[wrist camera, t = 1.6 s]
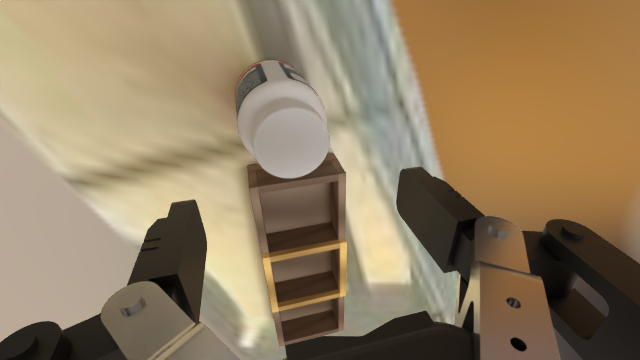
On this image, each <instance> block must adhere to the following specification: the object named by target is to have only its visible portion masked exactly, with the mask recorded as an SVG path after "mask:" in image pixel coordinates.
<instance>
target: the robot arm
mask: <svg viewBox="0 0 640 360" xmlns="http://www.w3.org/2000/svg"><path fill="white" fill-rule="evenodd" d="M396 204H397V210H398V212H399V214H400V216H401V217H402V219H403V220H404V221H405V223H406V224H407V225H408V226H409V228H410V229H411V230H412V232H413V233H414V234H415V236H416V237H417V238H418V240H419V241H420V242H421V244H422V245H423V246H424V247H425V249H426V250H427V251H428V253H429V254H430V255H431V257H432V258H433V259H434V261H435V262H436V263H437V264H438V266H439V267H440V268H441V270H442V271H443V272H444V273H447V272H452V271H456V270H457V271H458V272H459V274H460V275H459V278H458V284H457V299H456V314H455V325H451V324H447V323H441V322H433V321H432V319H431V317H430V316H429V314H428V313H427V311H423V312H419V313H415V314H410V315H406V316H402V317H398V318H394V319H392V320H391V321H389V322H387V323H385V324H384V325H382V326H380V327H378V328H377V329H375V330H373V331H371V332H370V333H368V334H366V335H364V336H359V337H355V336H321V337H317V338H313V339H309V340H305V341H301V342H297V343H293V344H289V345H285V348H286V355H287V358H285V359H283V360H560V356H559V352H558V347H557V342H556V338H555V333H554V329H553V327H554V328H555V329H556V330H557V331H558V332H559V334H560V335H561V336H562V337H563V338H564V339H565V340H566V341H567V342H568V344H569V345H570V346H571V347H572V348H573V349H574V350H575V351H576V352H577V354H578V355H579V356H580V357H581V358H582V359H583V360H640V264H639V263H638V262H636V261H635V260H633V259H632V258H630V257H629V256H627V255H626V254H625V253H623V252H622V251H620V250H619V249H618V248H616V247H615V246H613V245H612V244H610V243H609V242H608V241H606V240H605V239H603V238H601V237H600V236H599V235H597V234H596V233H595V232H593V231H592V230H590V229H589V228H587V227H585V226H583V225H581V224H578V223H576V222H572V221H569V220H562V219H554V220H550V221H548V222H547V224H546V226H545V228H544V230H543V232H534V231H521V230H520V228H519V227H518V226H516V225H515V224H514V223H512V222H510V221H508V220H506V219H503V218H500V217H494V216H484V215H483V214H482V213H481V212H480V211H479V210H478V209H476V208H475V207H474V206H473V205H472V204H471V203H469V202H468V201H467V200H466V199H465V198H464V197H461V195H460V194H459V193H458V192H457V191H455V190H454V189H453V188H452V187H451V186H450V185H449V184H448V183H447V182H445V181H443V180H441V179H439V178H436V177H432V176H431V175H430V174H429V173H428V172H427V171H426V170H424V169H423V168H422V167H414V168H407V169H402V170H401V172H400V176H399V184H398V192H397V200H396ZM140 250H141V252H139V255H138V257H137V260H136V263H135V265H134V268H133V271H132V273H131V276H130V279H129V281H128V284H127V286H126V287H124V288H122V289H120V290H119V291H118V292H116V293H115V294H114V295H112V296H111V297H110V298H109V299H108V301H107V302H106V303H105V305H104V306H103V308H102V311H101V313H100V314H98V315H96V316H94V317H92V318H90V319H88V320H85V321H83V322H81V323H78V324H76V325H74V326H71V327H69V328H67V329H65V330H62V329H61V328H60V327H59V325H58V324H56V323H54V322H49V321H46V322H38V323H34V324H31V325H29V326H26V327H24V328H22V329H20V330H18V331H16V332H14V333H13V334H11V335H10V336H8V337H7V338H5V339H4V340H3V341H2V342H0V360H240V359H239V358H238V357H237V356H236V355H235V354H234V353H233V352H232V351H231V350H230V349H229V348H228V347H227V346H226V345H225V344H224V343H223V342H222V341H221V340H220V339H219V338H218V337H217V336H216V335H215V334H214V333H213V332H212V331H211V330H210V329H209V328H208V327H207V326H206V325H205V324H204V323H202V322H199V316H200V307H201V298H202V288H203V279H204V270H205V261H206V252H207V240H206V234H205V230H204V227H203V223H202V220H201V216H200V213H199V209H198V206H197V203H196V201H195V200H188V201H181V202H174V203H172V204H171V207H170V210H169V213H168V217H167V218H161V219H157V221H156V222H155V223H154V224H153V225H152V226H151V227H150V228H149V229H148V231H147V233H146V236H145V239H144V243H143V244H142V247H141V249H140ZM580 277H581V278H582V279H583V280H584V281H585V282H586V283H588V284H589V285H590V286H591V287H592V288H593V289H595V290H596V291H597V292H598V293H599V294H600V295H601V296H602V297H603V298H604V299H605V300H606V302H607V304H608V306H609V314H608V316H607V317H605V316H604V315H603V314H602V313H601V312H599V311H598V310H597V309H596V308H595V307H594V306H593V305H592V304H591V303H590V302H589V301H587V299H585V298H584V297H583V296H582V295H581V294H580V293H579V292H578V291H577V290H576V289H575V288H574V286H575V284H576V283H577V281H578V279H579V278H580Z"/></svg>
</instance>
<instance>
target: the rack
mask: <svg viewBox="0 0 640 360" xmlns="http://www.w3.org/2000/svg"><path fill="white" fill-rule="evenodd" d="M247 167H248V179H249V189H250V195H251V200H252V205H253V210H254V216H255V221H256V226H257V232H258V237H259V242H260V247H261V253H262V260H263V265H264V270H265V275H266V281H267V286H268V291H269V296H270V302H271V307H272V312H273V316H274V321H275V327H276V332H277V337H278V342H279V347H280V346H284V345H288V344H292V343H296V342H300V341H304V340H307V339H311V338H315V337H319V336H323V335H327V334H331V333H335V332H339V331H343V330H344V296H346V278H347V241H346V239H345V203H346V172H345V171H344V169H343V168H342V166H341V164H340V163H339V161H338V159H337V158H336V156H335V155H334V153H331V154H327V155H326V157H325V159H324V160H323V162H322V163H321V164H320V165H319V166H318V167H317V168H316V169H315V170H313V171H312V172H310V173H308V174H306V175H304V176H301V177H297V178H281V177H277V176H274V175H272V174H270V173H268V172H267V171H265V170H264V169H263V168H262V167H261V166H260V164H255V165H248V166H247Z"/></svg>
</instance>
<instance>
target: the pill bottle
mask: <svg viewBox="0 0 640 360" xmlns="http://www.w3.org/2000/svg"><path fill="white" fill-rule="evenodd" d="M235 95H236V110H237V127H238V131H239V135H240V138H241V140H242V143H243V144H244V146H245V148H246V149H247V150H248V151H249V152H250V153H251V154H252V155H253V156H254V157H255V158H256V160H257V162H258V163H259V164H260V166H261V167H262V168H263V169H264V170H265V171H267V172H268V173H270V174H272V175H274V176H277V177H281V178H297V177H301V176H304V175H306V174H308V173H310V172H312V171H313V170H315V169H316V168H317V167H318V166H319V165H320V164H321V163H322V162H323V160H324V159H325V157H326V155H327V152H328V149H329V142H330V139H329V132H328V129H327V117H326V111H325V108H324V105H323V103H322V101H321V99H320V98H319V96H318V95H317V93H316V92H315V91H314V89H313V88H312V87H311V86H310V85H309V83H308V82H307V81H306V80H305V79H304V78H303V77H302V76H301V74H300V73H299V72H298V71H297V70H296V69H295V68H293V67H292V66H290V65H289V64H287V63H284V62H281V61H277V60H266V61H261V62H258V63H256V64H253V65H252V66H250V67H249V68H248V69H247V70H245V72H244V73H243V74H242V75H241V77H240V79H239V81H238V83H237V87H236V94H235Z"/></svg>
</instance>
